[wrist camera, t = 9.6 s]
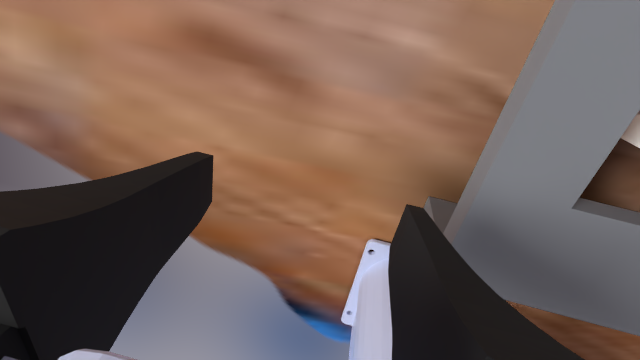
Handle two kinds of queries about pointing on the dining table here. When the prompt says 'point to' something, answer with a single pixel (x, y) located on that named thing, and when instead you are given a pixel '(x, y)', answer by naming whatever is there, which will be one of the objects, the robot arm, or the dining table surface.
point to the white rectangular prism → (633, 132)
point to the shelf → (558, 174)
